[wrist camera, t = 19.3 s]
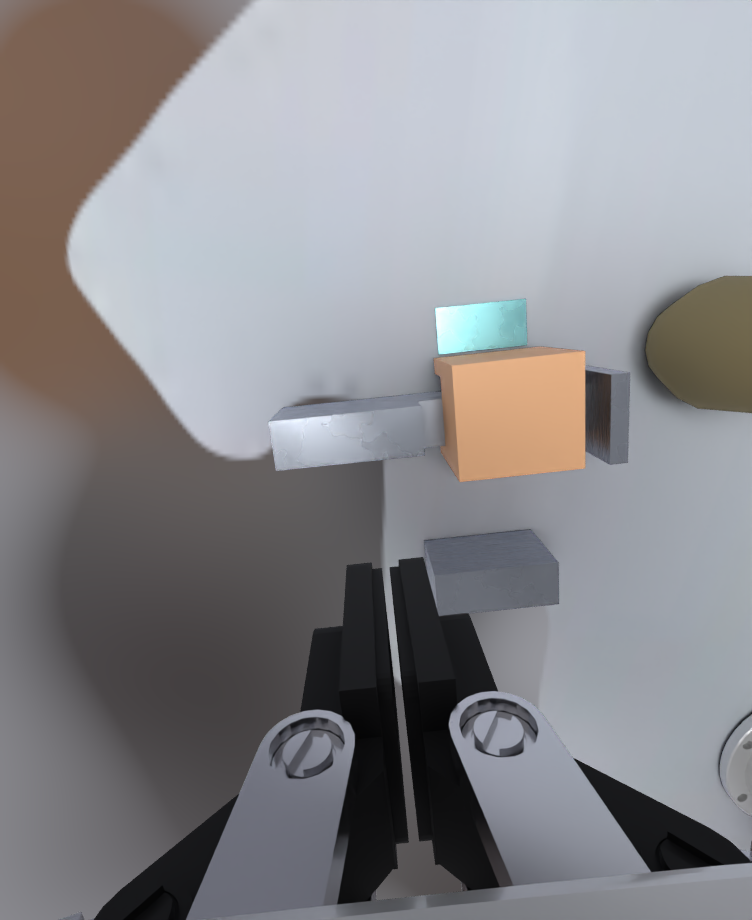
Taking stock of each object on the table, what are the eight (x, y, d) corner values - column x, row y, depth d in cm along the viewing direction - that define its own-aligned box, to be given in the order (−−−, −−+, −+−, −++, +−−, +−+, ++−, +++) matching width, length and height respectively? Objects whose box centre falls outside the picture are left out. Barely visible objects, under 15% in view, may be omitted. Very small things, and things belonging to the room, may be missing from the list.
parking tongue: (531, 565, 38) (558, 604, 33) (427, 576, 38) (437, 616, 33) (530, 529, 38) (558, 562, 32) (424, 540, 38) (434, 575, 32)
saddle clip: (542, 441, 35) (585, 468, 28) (440, 452, 35) (459, 482, 28) (540, 346, 33) (585, 351, 26) (433, 358, 33) (451, 365, 26)
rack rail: (570, 433, 36) (627, 462, 28) (291, 463, 36) (271, 500, 28) (569, 294, 33) (632, 283, 26) (270, 325, 33) (242, 324, 26)
